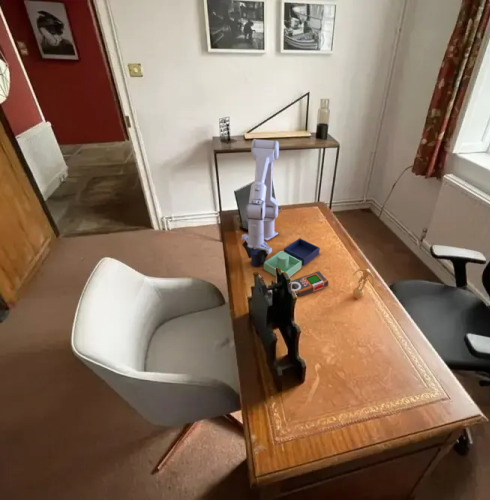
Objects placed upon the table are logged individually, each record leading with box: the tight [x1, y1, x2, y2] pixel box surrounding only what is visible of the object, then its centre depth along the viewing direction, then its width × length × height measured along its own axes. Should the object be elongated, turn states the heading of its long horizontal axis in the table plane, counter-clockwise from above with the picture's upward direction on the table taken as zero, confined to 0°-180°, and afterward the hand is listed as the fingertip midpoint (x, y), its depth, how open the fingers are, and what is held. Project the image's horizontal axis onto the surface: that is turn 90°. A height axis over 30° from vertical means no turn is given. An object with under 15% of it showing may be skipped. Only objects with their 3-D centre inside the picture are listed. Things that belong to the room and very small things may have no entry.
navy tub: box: [283, 237, 321, 267], centre depth 133 cm, size 11×11×4 cm
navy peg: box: [250, 248, 262, 268], centre depth 127 cm, size 4×4×6 cm
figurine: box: [352, 268, 375, 300], centre depth 112 cm, size 8×6×12 cm
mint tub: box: [263, 250, 303, 278], centre depth 126 cm, size 11×11×4 cm
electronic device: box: [290, 270, 329, 297], centre depth 118 cm, size 7×3×15 cm
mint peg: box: [277, 253, 289, 271], centre depth 124 cm, size 4×4×6 cm
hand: (256, 260), depth 128 cm, fingers open, 6 cm apart
